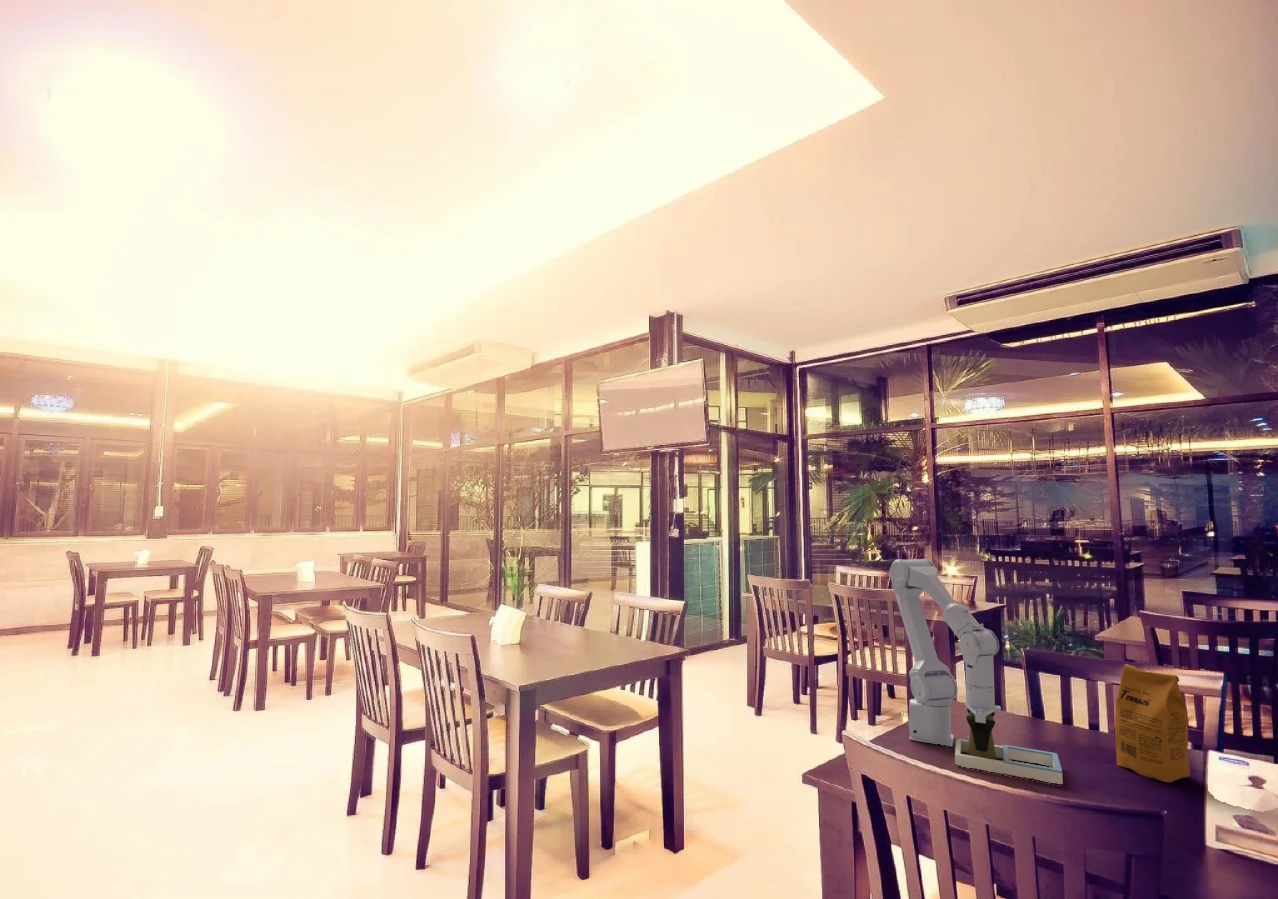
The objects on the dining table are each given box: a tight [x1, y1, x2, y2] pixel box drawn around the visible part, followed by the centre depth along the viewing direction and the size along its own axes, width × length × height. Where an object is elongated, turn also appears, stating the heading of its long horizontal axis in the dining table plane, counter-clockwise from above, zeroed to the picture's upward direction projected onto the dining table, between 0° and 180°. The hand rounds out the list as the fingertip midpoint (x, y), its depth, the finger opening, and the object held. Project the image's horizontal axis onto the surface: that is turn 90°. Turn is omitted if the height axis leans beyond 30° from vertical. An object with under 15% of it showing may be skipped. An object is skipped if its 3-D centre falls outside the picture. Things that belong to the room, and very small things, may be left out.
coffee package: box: [1114, 663, 1191, 783], centre depth 142 cm, size 10×12×22 cm
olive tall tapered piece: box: [967, 712, 998, 760], centre depth 145 cm, size 6×6×11 cm
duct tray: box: [954, 738, 1064, 785], centre depth 143 cm, size 20×11×3 cm, turn 62°
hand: (981, 746), depth 145 cm, fingers closed on olive tall tapered piece, 5 cm apart
